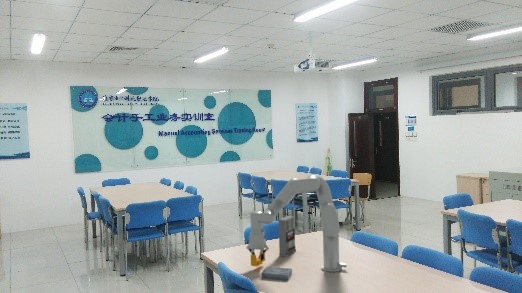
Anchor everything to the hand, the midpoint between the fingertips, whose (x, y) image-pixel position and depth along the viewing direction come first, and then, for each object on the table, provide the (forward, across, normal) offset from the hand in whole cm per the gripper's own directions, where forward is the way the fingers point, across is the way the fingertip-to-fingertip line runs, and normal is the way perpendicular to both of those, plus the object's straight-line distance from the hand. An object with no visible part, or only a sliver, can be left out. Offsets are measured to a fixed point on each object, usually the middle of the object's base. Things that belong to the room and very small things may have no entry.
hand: (257, 259), depth 255 cm
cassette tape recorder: (+6, -12, -33) cm, 36 cm away
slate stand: (+6, -15, +10) cm, 19 cm away
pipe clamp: (+3, 0, -1) cm, 3 cm away
